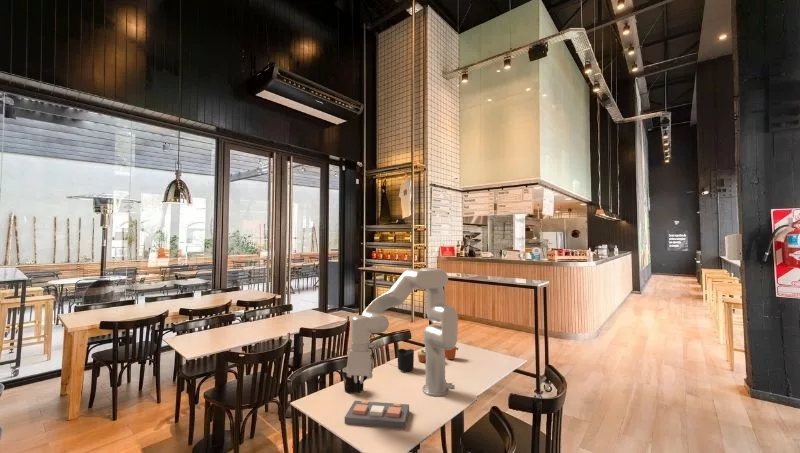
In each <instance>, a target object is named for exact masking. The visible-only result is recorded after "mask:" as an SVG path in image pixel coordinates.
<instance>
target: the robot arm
mask: <svg viewBox="0 0 800 453" xmlns="http://www.w3.org/2000/svg"><path fill="white" fill-rule="evenodd" d="M448 282H449V275H448V273H447V272H446V271H445V270H444V269H440V268H432V267H421V268H419V269H414V268H408V269H405V270H404V271H403V272H402V273H401V275H400V276H399V277H398V278H397V280H396V281H394V283H393V284H392V286H391V287H390V289H388V291H386V292H384V293H383V294H380V296H378V297H376V298H375V299H373V300H372V301H371V303H370V304H368V306H367V307H366V308H365V309H364V310H363V312H362V314H361V315H354V316H353V317H352V318H351V324H350V325H351V326H350V328H351V331H350V332H351V333H350V349H349V351H348V355H347V364H346V367H347V377H350V378H352V379H353V380H354V382H355V390H356V392H355V394H361V393H362V392H363V390H364V382H365V381H366V380H370V379H372V378H373V370H374V364H373V353H372V349H373V347H374V346H373V345H374V344H372V343H371V342H370V334H381V333H385V331H387V330H388V328H389V325H390V322H389V319H388V318H387V317H386V316H385V315H383V314H382V313H383V312H384V311H386V310H388V309H391V308H394V307H398V306H400V305H402V304H404V303H405V301H406V300H407V299H408V298H409V296H410V295H411V294H412V292H413V291H414V290H415V289H416V290H417V289H418V290H425V291H426V299H427V300H426V302H427V303H426V317H427V319H428V321H430V322H432V323H435V324H429V325H426V327H425V328H424V330H423V333H422V335H423V343H424V347H425V349H424V350H425V351H424V352H425V354H426V361H425V384H424V385H423V386H422V392H423V393H424V394H425V395H428V396H431V397H443V396H445V395H447V394H449V389H450V390H456V388H455V384H453V382H447V379H446V356H445V351H444V349H446V350H451V349H453V348H454V347H455V346H456V345H457V342H458V341H457V340H458V326H459V325H458V324H459V323H458V322H459V320H458V319H459V316H458V312H457V310H456V309H455V307H454V306H452V305H450V304H449V305H448V304H446V303H445V302H446V300H445V289H444V287H445V286H446V285H447V283H448ZM438 324H439V325H438ZM359 376H360V377H359Z"/></svg>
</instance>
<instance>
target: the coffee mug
mask: <svg viewBox="0 0 800 453" xmlns="http://www.w3.org/2000/svg"><path fill="white" fill-rule="evenodd" d="M342 378H343V387H344V388H343V389H344V392H345V393H347V394H354V393H355V394H356V390H355V382H354V380H353V379H352V378H350V377H347V366H346V367H344V368H342ZM359 378H361V376H359Z"/></svg>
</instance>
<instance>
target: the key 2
mask: <svg viewBox="0 0 800 453" xmlns="http://www.w3.org/2000/svg"><path fill="white" fill-rule="evenodd" d="M400 415H401V407H389V408H388V411H387V417H393V418H400Z"/></svg>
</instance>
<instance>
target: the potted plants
mask: <svg viewBox="0 0 800 453" xmlns="http://www.w3.org/2000/svg"><path fill="white" fill-rule="evenodd" d="M424 350H425V349H421V351H418V352H417V358H418V359H417V360H418V361H419V363H420V362H422V363H426V354H425V351H424ZM458 350H460V349H459V347H458V346H456V345H455V347H454V348H453V349H451V350H446V349H444V351H445V359H448V360H453V359H455V358H456V351H458Z"/></svg>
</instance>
